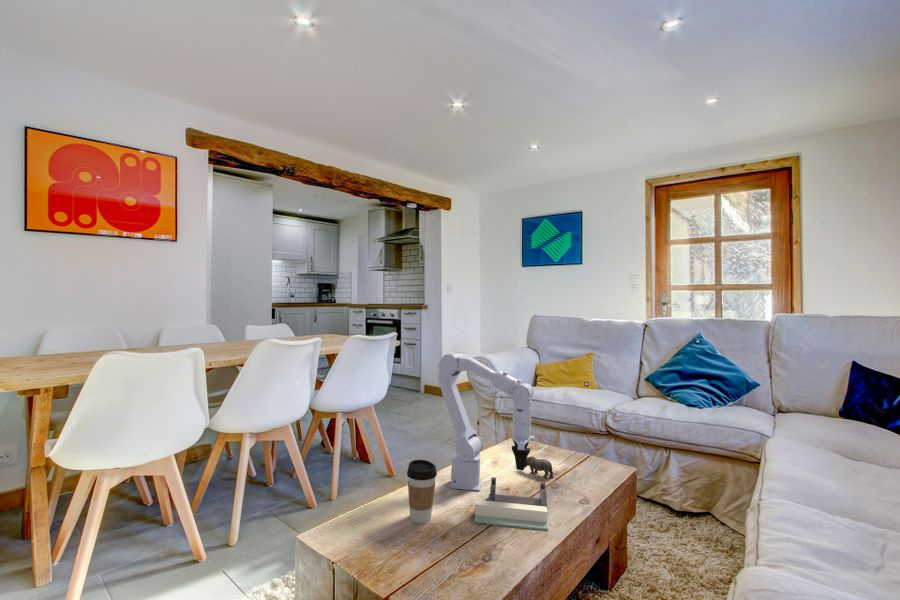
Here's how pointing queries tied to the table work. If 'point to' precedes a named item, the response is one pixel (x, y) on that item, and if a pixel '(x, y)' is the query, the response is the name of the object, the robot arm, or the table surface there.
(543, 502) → the rack
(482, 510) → the rail
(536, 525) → the mat
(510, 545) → the table surface
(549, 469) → the rhino figurine
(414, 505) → the coffee cup
